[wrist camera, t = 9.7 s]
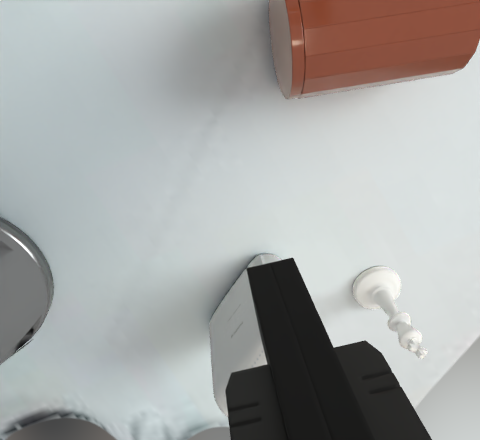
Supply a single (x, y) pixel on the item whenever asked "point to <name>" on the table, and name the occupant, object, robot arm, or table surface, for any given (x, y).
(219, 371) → the photo printer
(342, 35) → the cup
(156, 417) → the table surface
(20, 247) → the robot arm
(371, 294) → the chess piece
